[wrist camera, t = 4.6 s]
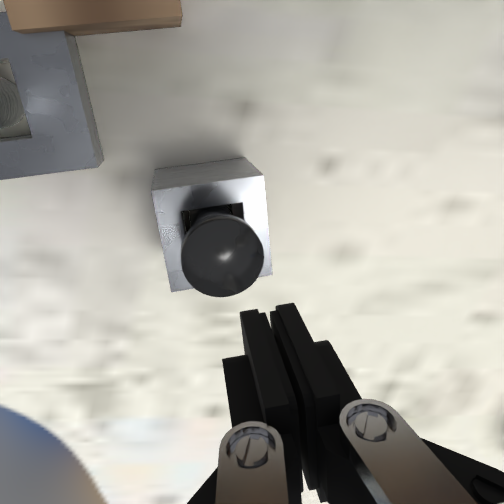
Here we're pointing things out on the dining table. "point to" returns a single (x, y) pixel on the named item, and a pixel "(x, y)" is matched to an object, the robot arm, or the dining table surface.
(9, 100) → the grey round-topped peg
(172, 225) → the housing
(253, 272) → the dark grey knobbed peg
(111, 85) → the dining table surface
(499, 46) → the dining table surface
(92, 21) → the block
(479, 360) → the dining table surface
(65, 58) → the socket plate
